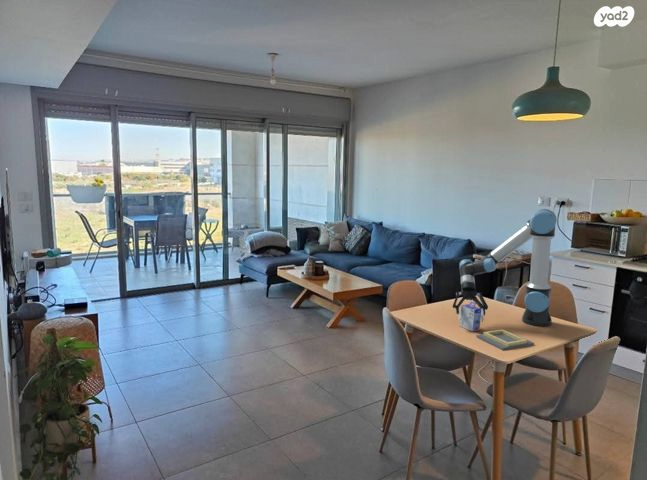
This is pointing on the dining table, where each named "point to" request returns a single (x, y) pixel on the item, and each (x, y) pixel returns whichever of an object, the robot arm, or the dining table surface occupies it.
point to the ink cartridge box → (470, 317)
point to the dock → (504, 339)
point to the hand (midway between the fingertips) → (471, 319)
